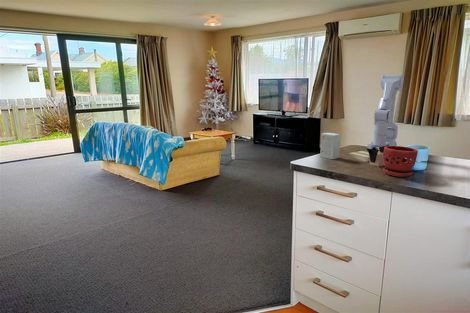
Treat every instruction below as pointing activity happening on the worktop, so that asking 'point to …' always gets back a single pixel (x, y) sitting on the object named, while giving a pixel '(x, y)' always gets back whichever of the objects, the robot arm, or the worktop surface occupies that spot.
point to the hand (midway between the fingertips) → (377, 161)
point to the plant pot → (399, 160)
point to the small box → (330, 145)
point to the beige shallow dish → (360, 156)
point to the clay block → (378, 160)
